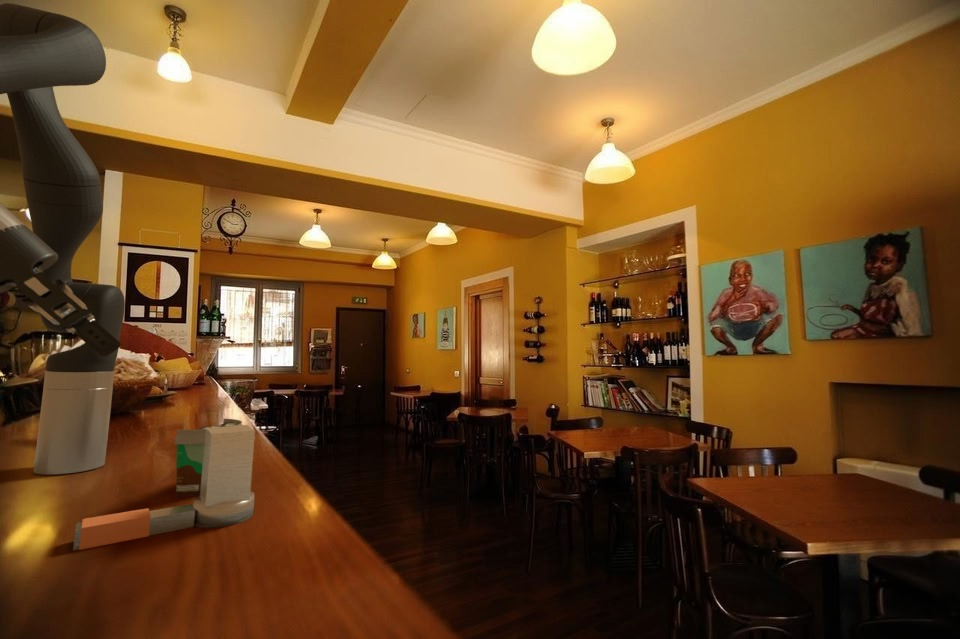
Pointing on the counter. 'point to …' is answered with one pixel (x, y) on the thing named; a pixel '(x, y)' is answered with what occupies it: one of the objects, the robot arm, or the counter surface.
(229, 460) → the white upright block
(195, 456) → the food container
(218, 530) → the counter surface
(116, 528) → the ratchet
